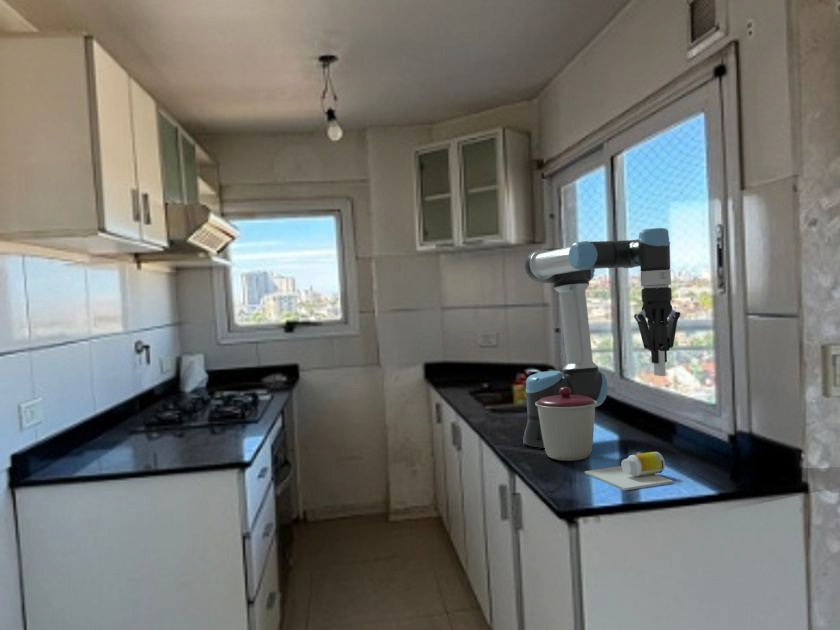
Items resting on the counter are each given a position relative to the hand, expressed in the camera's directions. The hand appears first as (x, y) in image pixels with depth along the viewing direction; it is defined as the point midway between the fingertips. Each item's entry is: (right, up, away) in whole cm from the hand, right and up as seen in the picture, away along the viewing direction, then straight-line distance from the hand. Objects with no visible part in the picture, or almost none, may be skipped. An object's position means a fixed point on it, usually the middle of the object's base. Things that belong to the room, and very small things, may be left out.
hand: (659, 375), depth 173 cm
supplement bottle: (-1, -22, -3) cm, 23 cm away
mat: (-10, -26, -5) cm, 29 cm away
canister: (-20, -27, +21) cm, 39 cm away
